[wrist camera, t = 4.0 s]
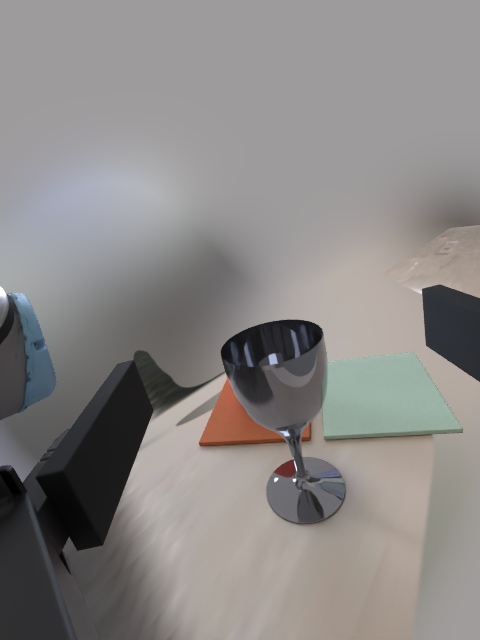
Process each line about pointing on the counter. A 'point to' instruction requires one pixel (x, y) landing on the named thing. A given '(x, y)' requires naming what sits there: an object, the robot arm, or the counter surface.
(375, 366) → the glass mat
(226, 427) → the fruit mat
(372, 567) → the counter surface
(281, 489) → the wine glass
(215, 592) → the counter surface
